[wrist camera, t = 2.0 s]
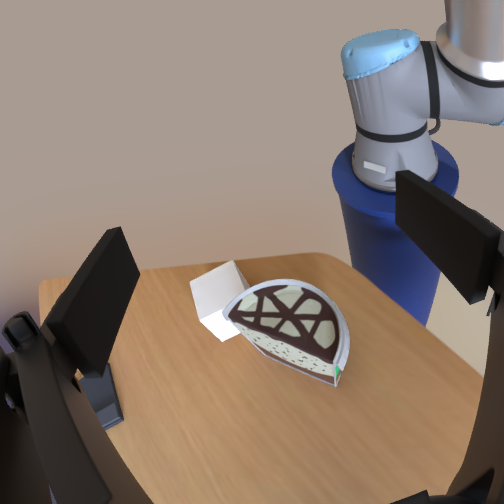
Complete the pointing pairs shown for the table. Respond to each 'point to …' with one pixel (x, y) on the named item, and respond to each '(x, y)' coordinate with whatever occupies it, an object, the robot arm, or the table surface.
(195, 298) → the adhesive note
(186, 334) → the table surface
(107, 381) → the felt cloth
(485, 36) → the robot arm
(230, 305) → the food container
